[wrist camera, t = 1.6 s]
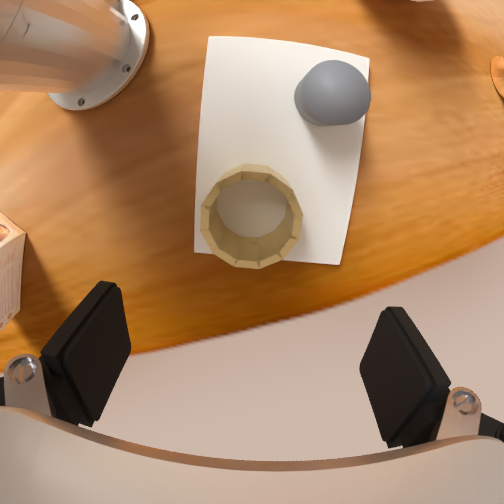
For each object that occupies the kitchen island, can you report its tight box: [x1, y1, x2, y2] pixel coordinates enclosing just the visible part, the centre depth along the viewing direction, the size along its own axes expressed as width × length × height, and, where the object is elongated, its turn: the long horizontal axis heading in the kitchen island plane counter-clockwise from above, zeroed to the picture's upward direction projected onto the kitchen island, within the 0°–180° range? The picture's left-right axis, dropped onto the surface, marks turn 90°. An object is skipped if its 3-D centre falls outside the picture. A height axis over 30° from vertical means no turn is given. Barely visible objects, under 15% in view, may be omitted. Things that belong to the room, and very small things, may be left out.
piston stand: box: [194, 36, 371, 265], centre depth 21 cm, size 20×14×6 cm
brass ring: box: [200, 163, 303, 269], centre depth 22 cm, size 7×7×5 cm
